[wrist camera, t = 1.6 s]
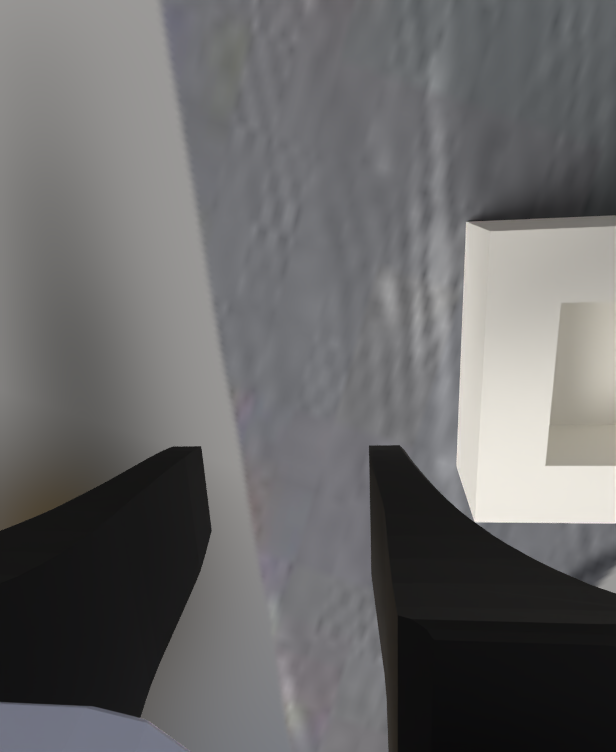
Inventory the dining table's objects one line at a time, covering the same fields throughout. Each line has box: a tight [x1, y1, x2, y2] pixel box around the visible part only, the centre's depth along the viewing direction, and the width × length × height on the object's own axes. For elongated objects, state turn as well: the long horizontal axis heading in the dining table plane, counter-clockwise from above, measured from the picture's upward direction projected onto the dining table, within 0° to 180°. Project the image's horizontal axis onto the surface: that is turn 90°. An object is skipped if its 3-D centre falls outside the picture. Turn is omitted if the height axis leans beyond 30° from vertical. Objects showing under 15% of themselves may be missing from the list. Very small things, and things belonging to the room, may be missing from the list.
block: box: [457, 215, 616, 523], centre depth 18 cm, size 9×9×4 cm
